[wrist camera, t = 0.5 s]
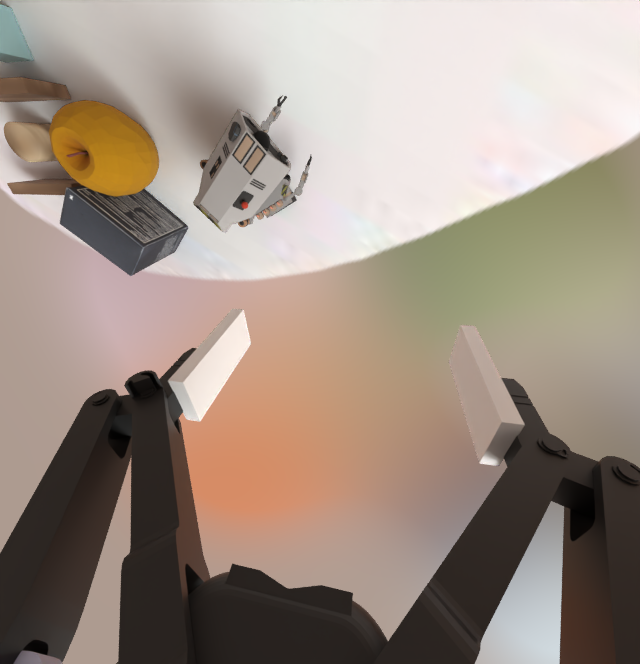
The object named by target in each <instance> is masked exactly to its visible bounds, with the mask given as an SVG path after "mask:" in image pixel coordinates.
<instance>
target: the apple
mask: <svg viewBox="0 0 640 664" xmlns="http://www.w3.org/2000/svg"><path fill="white" fill-rule="evenodd" d="M49 136H50V142H51V148H52V152H53V153H54V155H55V156H56V158H57V160H58V161H59V163H60V164H61V166H62V167H63V168H64V169H65V170H66V171H67V173H68V174H69V175H70V176H71V177H72V178H73V179H74V180H76V181H77V182H79V183H80V184H81V185H83V186H85V187H87V188H89V189H91V190H93V191H96V192H99V193H103V194H106V195H109V196H116V197H117V196H124V195H130V194H136V193H138V192H140V191H141V190H143V189H144V188H145V187H147V186H148V185H149V184H150V183H151V182H152V181H153V179H154V178H155V176H156V174H157V171H158V168H159V158H158V152H157V149H156V146H155V144H154V142H153V140H152V139H151V137H150V136H149V134H148V133H147V132H146V131H145V130H144V129H143V127H142V126H141V125H139V124H138V123H136V122H135V121H134V120H132V119H131V118H129V117H128V116H127V115H125V114H124V113H122V112H121V111H119V110H117V109H116V108H114V107H112V106H109V105H107V104H104V103H100V102H96V101H88V100H83V101H78V102H73V103H70V104H67V105H65V106H63V107H62V108H61V109H60V110H59V111H57V113H56V114H55V115H54V116H53V119H52V123H51V126H50V129H49Z"/></svg>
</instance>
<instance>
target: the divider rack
mask: <svg viewBox="0 0 640 664" xmlns="http://www.w3.org/2000/svg"><path fill="white" fill-rule="evenodd" d="M65 99H71V98H70V95H69V93H68V90H67V88H66V85H61V84H56V83H50V82H45V81H39V80H34V79H29V78H23V77H14V78H0V102H23V101H44V100H65ZM7 184H8V186H9V188H10V189H11V191H12V193H13V194H39V195H65V192H66V188H68V187H77V186H82V185H81V184H80V183H79V182H77V181H76V180H74V179H42V180H33V181H23V182H14V183H7Z"/></svg>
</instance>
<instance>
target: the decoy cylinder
mask: <svg viewBox="0 0 640 664" xmlns="http://www.w3.org/2000/svg"><path fill="white" fill-rule="evenodd" d="M50 126H51V124H39V123H22V122H7V123H6V124H5V126H4V134H5V138H6V140H7V142H8V144H9V146H10V147H11V149H12V150H13V151H14V152H15V153H16V154H17V155H18V156H19V157H20V158H22V159H23V160H25V161H28V162H43V161H58V160H57V158H56V156H55V155H54V153H53V152H52V148H51V142H50V136H49V129H50Z"/></svg>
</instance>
